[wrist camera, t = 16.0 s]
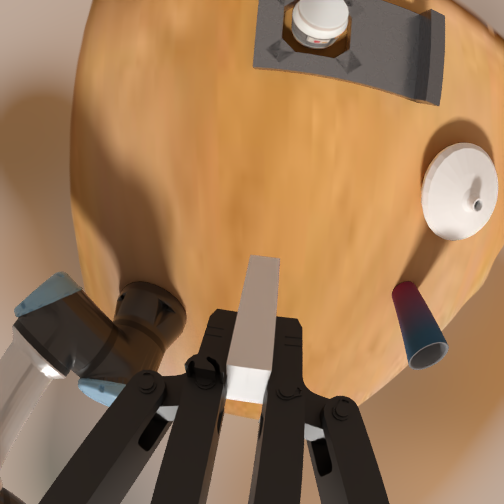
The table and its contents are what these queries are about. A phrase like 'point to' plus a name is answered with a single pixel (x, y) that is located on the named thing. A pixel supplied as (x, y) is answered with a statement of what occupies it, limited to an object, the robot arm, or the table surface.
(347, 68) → the jig
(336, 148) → the table surface
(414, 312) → the cup
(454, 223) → the lid
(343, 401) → the robot arm
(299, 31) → the pill bottle
